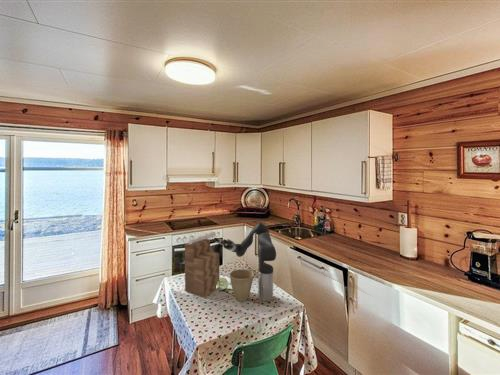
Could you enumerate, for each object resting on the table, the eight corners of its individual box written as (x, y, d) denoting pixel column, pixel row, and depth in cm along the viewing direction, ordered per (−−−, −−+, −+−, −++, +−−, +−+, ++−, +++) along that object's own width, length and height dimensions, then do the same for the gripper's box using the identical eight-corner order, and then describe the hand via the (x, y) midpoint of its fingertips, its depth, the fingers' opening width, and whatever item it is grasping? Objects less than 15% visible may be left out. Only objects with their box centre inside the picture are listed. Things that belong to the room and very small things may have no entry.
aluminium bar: (212, 235, 181) (212, 231, 181) (215, 236, 179) (215, 232, 179) (188, 244, 160) (188, 239, 160) (192, 244, 159) (191, 240, 158)
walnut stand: (201, 281, 177) (201, 237, 174) (219, 287, 169) (219, 241, 166) (185, 291, 163) (184, 243, 161) (203, 297, 155) (203, 248, 153)
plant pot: (255, 294, 160) (256, 270, 159) (249, 306, 146) (250, 280, 144) (234, 291, 164) (234, 267, 163) (226, 302, 150) (226, 277, 148)
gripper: (224, 239, 203) (213, 233, 191) (238, 242, 196) (228, 236, 183) (221, 248, 201) (210, 243, 188) (235, 251, 193) (225, 246, 181)
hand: (219, 239), depth 186 cm, fingers open, 8 cm apart
